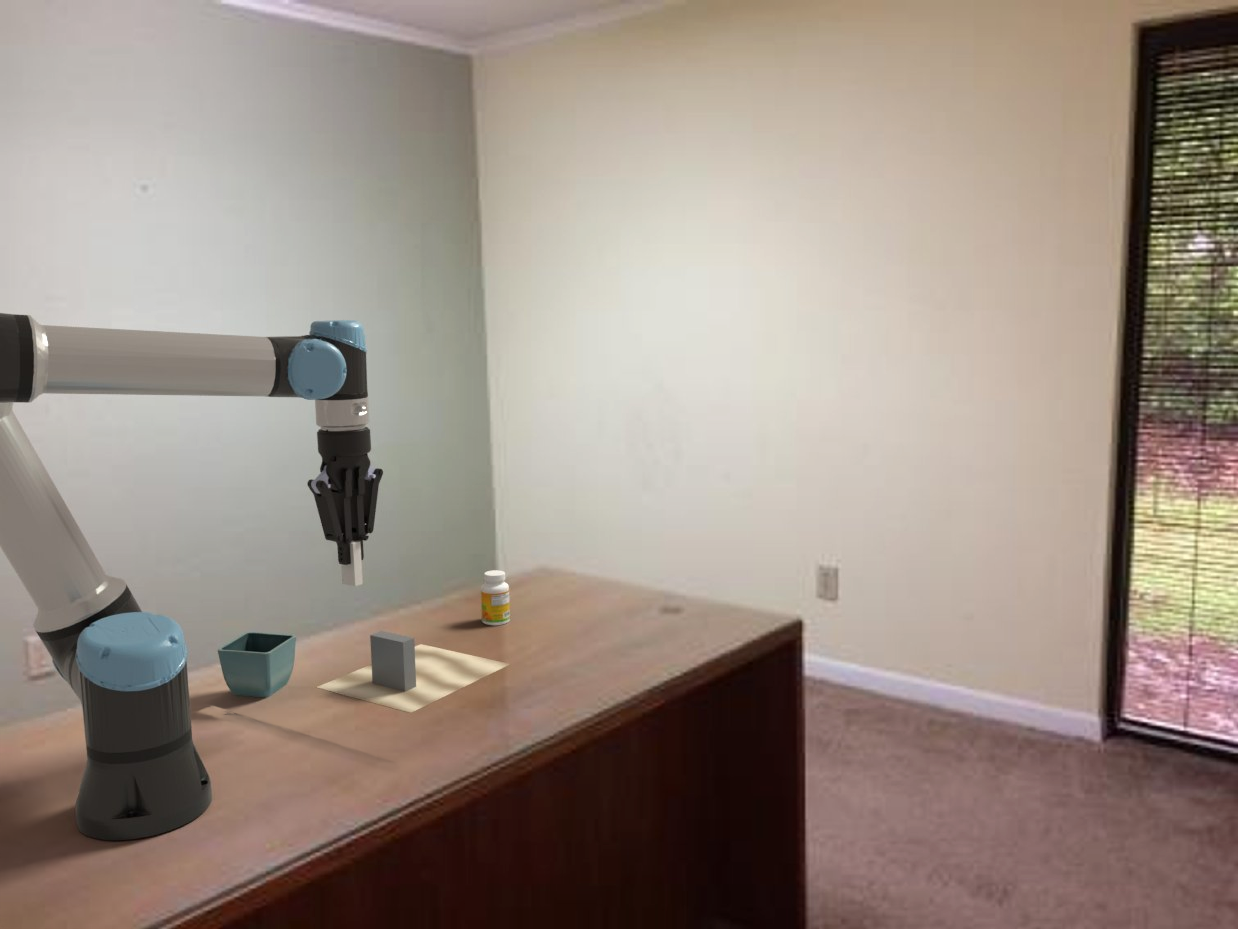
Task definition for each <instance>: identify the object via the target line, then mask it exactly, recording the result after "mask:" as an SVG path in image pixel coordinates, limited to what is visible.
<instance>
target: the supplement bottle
mask: <svg viewBox="0 0 1238 929" xmlns="http://www.w3.org/2000/svg"><path fill="white" fill-rule="evenodd" d="M483 575H484V576H483V578H484V581H485V582H484V583H483V584H481V586H480V600H481V603H480V604H481V622H482V623H483V624H485V625H488V626H501V625H505V624H507V623H509V622H510V620H511V619H510V618H511V617H510V616H511V612H510V611H511V610H510V606H511V604H510V603H511V602H510V586H509V584H508V583H507V582H505V580H506V572H505V571H503V570H497V569H495V570H494V569H493V570H488V571H485V572H484V574H483Z"/></svg>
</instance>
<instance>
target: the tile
mask: <svg viewBox="0 0 1238 929" xmlns="http://www.w3.org/2000/svg"><path fill="white" fill-rule="evenodd" d="M369 639H370V640H369V641H370V658H371V660H370V661H371V664H372V683H373V684H377V685H381V686H385V687H388V688H392V689H396V690H400V691H404V692H406V691H408V690H410V689H412V688H414V687H416V669H415V646H416V645H415V637H412V636H406V635H402V634H397V633H395V632H394V633H392V632H389V631H385V630H379V631H377V632H374V633H372V634H370V635H369Z"/></svg>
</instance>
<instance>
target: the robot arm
mask: <svg viewBox="0 0 1238 929" xmlns="http://www.w3.org/2000/svg"><path fill="white" fill-rule="evenodd" d="M309 327H310V330H309V332H308V333H309V334H304V335H299V336H296V335H294V336H292V335H289V336H287V335H285V336H255V335H254V336H253V335H232V334H217V333H216V334H212V333H197V332H177V331H158V330H157V331H156V330H143V329H142V330H140V329H120V328H104V327H103V328H102V327H87V326H86V327H85V326H82V327H81V326H68V325H67V326H66V325H65V326H64V325H47V324H43V325H42V324H40V323H39V322H38V321H37V320H36V319H34V318H33V317H32V316H31V315H29V314H28V315H27V314H14V313H3V312H0V549H1V550H2V552H3V553H4V555H5V556H6V559H7V560H8V562H9V563H10V565H11V567H12V568H13V570H14V572H15V574H17V577H18V578H19V579H20V581H21V583H22V584H23V586H24V589H25V590H26V592H28V595H29V596H30V598H31V599H32V601H33V603H34V604H35V607H37V610H38V611H37V614H36V617H35V618H34V621H33V624H32V625H33V628H34V630H35V632H36V634H37V635H38V637H39V639H40V641H41V643H42V644H43V645H44V647H45V649H46V650H47V652H48V653H49V655H50V657H51V659H52V664H53V667H54V668H55V670H56V671H57V673H58V675H60V677H61V678H62V679H63V680H64V681H65V682H67V684H68V685H69V687H70V688H71V689H72V691H73V692H74V694H75V695H76V697H77V699H79V701H80V703H81V708H82V718H83V728H84V738H85V739H84V740H85V748H86V749H85V750H86V764H85V767H84V770H83V771H84V772H83V774H82V778H81V782H80V788H79V791H78V796H77V799H76V802H75V820H76V821H75V822H76V826H77V829H78V831H80V833H82V834H84V835H86V836H87V837H90V838H93V839H97V840H105V841H127V840H129V841H130V840H137V839H142V838H148V837H149V838H150V837H152V836H156V835H160V834H164V833H168V832H169V831H173V830H175V829H178V828H179V827H182V826H184V825H186V824H188V823H191V822H192V821H194V820H196V819H197V818H198V817H199V816H201V815H202V814H203V813H204V812H205V811H207V809H208V808H210V805H211V803H212V800H213V793H212V792H213V791H212V790H213V789H212V781H211V777H210V776H209V774H208V771H207V768H206V767H205V765H204V763H203V761H202V759H201V756H200V754H199V752H198V749H197V748H196V745H195V743H194V741H193V740H194V739H193V732H192V731H193V730H192V720H191V719H192V718H191V705H190V704H191V702H190V692H189V690H190V688H189V677H188V664H187V663H188V662H187V661H188V660H187V658H188V647H187V643H186V641H185V636H184V631H183V629H182V627H181V626H180V623H179V622H177V621H176V620H175V619H174V618H171V617H169V616H167V615H164V614H161V613H158V614H153V613H152V612H144V611H142V609H141V607H140V606H139V604H138V602H137V600H136V599H135V597H134V595H133V593H132V592H131V589H130V588H129V586H128V585H127V583H126V581H125V580H124V579H122V578H119V577H114V576H111V575H107V574H106V572H105V571H104V568H103V567H102V565H101V563H100V561H99V560H98V557H96V554H95V553H94V551H93V549H92V547H91V546H90V544H89V543H88V540H87V539H86V537H85V535H84V534H83V532H82V530H81V528H80V526H79V525H78V523H77V521H76V520H75V517H74V516H73V514H72V512H71V511H70V508H69V507H68V506H67V503H66V502H65V500H64V499H63V496H62V495H61V493H60V492H59V490H58V488H57V486H56V485H55V483H54V481H53V479H52V478H51V476H50V474H49V472H48V470H47V469H46V467H45V465H44V464H43V462H42V460H41V457H39V455H38V453H37V451H36V450H35V447H34V446H33V444H32V443H31V441H30V439H29V438H28V435H27V433H26V432H25V430H24V429H23V427H22V425H21V424H20V421H19V419H18V418H17V416H16V414H15V412H14V411H13V406H14V403H25V404H26V403H30V404H31V403H32V402H33V401H35V400H36V399H37V398H38V397H39V396H41V395H43V394H49V395H51V394H52V395H53V394H57V395H58V394H59V395H61V394H63V395H68V394H69V395H123V396H124V395H125V396H126V395H127V396H128V395H130V396H131V395H134V396H135V395H136V396H137V395H138V396H139V395H140V396H144V395H145V396H192V397H193V396H197V397H198V396H200V397H201V396H204V397H205V396H206V397H209V396H211V397H269V398H301V399H305V400H308V401H314V405H315V406H314V407H315V425H316V426H317V427H320V429H318V431H317V432H316V437H317V439H316V440H317V451H318V452H317V453H318V454H319V455H320V457H321V465H320V467H319V470H320V473H319V474H318V475H317V477H316V478H315V479H308V481H307V487H308V488H309V491H310V492H311V493H312V495H313V497H314V501H315V504H316V508H317V512H318V516H319V519H320V523H321V526H322V527H321V528H322V531H323V535H324V539H325V540H326V541H330V542H335V543H336V545H337V561H338V564H339V565H340V566H341V579H342V585H345V586H351V587H357V586H361V585H363V584H364V581H363V580H364V578H363V564H362V561H363V560H364V557H365V554H364V541H368V540H369V535H368V534H372V533H374V526H375V519H376V518H375V517H376V511H377V502H378V497H379V496H378V494H379V487H380V486H379V485H380V482H381V481H382V477H383V475H384V471H383V469H382V468H377V467H374V466H373V465H372V464H371V459H370V456H369V455H368V454H369V453H370V452H371V450H372V441H371V438H372V437H371V428H370V429H369V427H367V426H366V425H369V423H370V408H369V407H370V406H369V405H370V404H369V393H368V392H369V389H368V375H367V374H368V373H367V372H368V371H367V366H368V365H367V364H368V363H367V354H368V350H367V346H366V335H365V331H364V326H363V324H362V323H361V322H360V321H358V320H350V319H349V320H348V319H347V320H346V319H345V320H344V319H343V320H341V319H340V320H337V319H336V320H315V321H312V322H311V324H310V326H309Z"/></svg>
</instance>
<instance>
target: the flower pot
mask: <svg viewBox="0 0 1238 929" xmlns="http://www.w3.org/2000/svg"><path fill="white" fill-rule="evenodd" d="M296 641H297V635H296V634H287V633H286V634H285V633H284V634H283V633H269V632H257V631H256V632H255V631H247V632H244V633H243V634H241V635H238V637H236V638H235V639H233V640H230V641H229V642H227V643H226V644H225V645H222V646H221V647H219V648H218V649H217V654H218V658H219V664H220V667H221V668H220V669H221V671H222V676H223V679H224V681H225V684H226V686H227V687H228V689H229V691H230V692H231V694H233V696H241V697H243V696H244V697H258V698H270V697H271V696H272V695H273V694H275V693H276V692H278V691H280V690H281V689H283V688H284V687H285V686H286V685H287V684H288V683H289V680H290V679H291V676H292V673H293V670H294V665H295V656H296V654H295V653H296V645H297V644H296V643H297V642H296Z"/></svg>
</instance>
